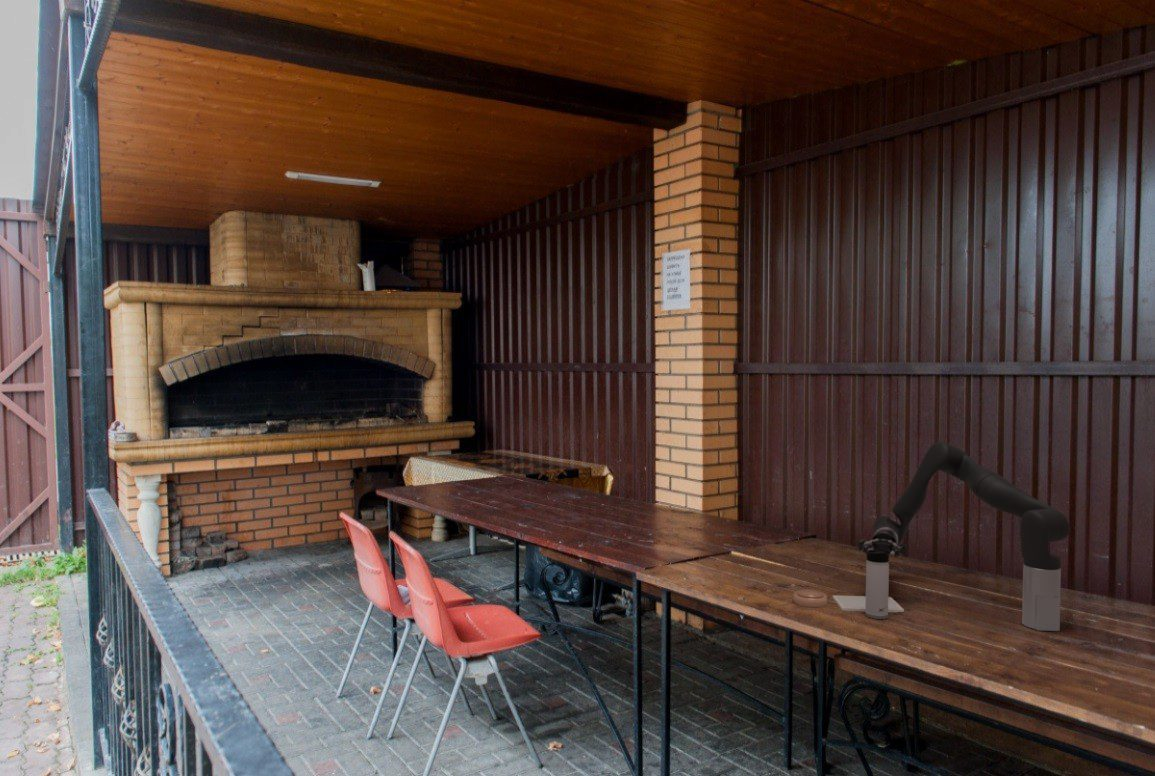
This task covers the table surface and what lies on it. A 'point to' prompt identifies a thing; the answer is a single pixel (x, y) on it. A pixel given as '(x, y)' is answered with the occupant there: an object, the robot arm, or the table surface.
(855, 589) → the table surface
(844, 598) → the tile
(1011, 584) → the table surface
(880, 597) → the travel mug
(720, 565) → the table surface
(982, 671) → the table surface
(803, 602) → the tan round domed disc
